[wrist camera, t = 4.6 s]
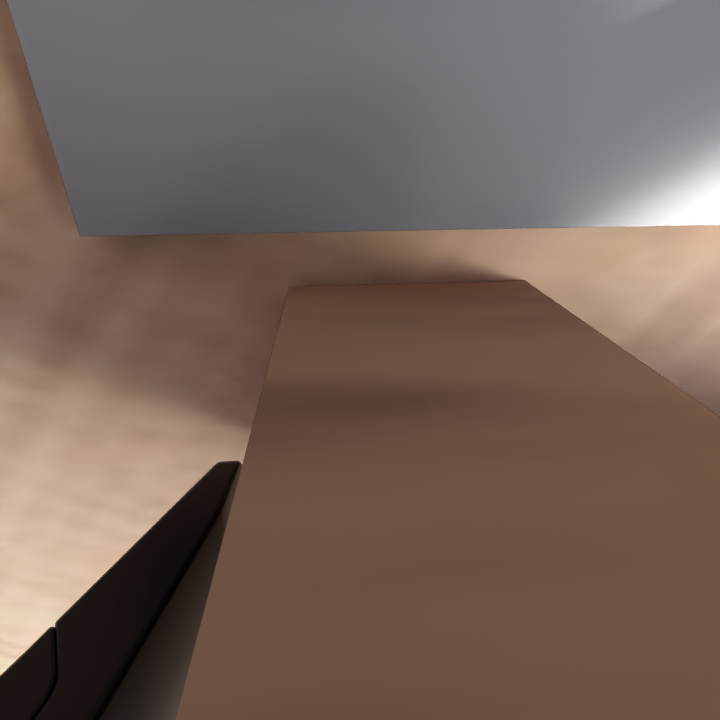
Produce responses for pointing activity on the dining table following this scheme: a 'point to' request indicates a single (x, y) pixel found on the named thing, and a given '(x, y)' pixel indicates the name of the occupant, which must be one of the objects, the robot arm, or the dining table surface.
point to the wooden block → (463, 521)
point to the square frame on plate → (378, 113)
